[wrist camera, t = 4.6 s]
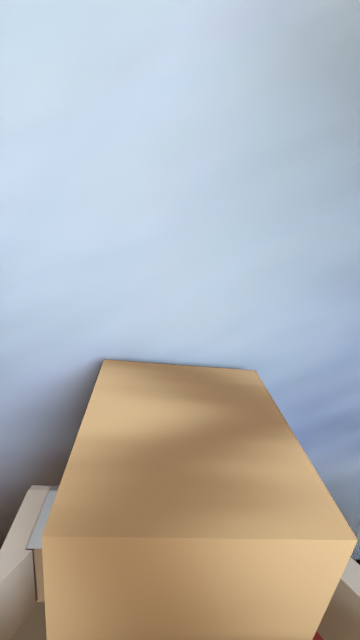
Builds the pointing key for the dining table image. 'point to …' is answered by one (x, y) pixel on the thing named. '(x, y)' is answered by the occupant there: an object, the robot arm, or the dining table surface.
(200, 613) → the oak brick
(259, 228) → the dining table surface
